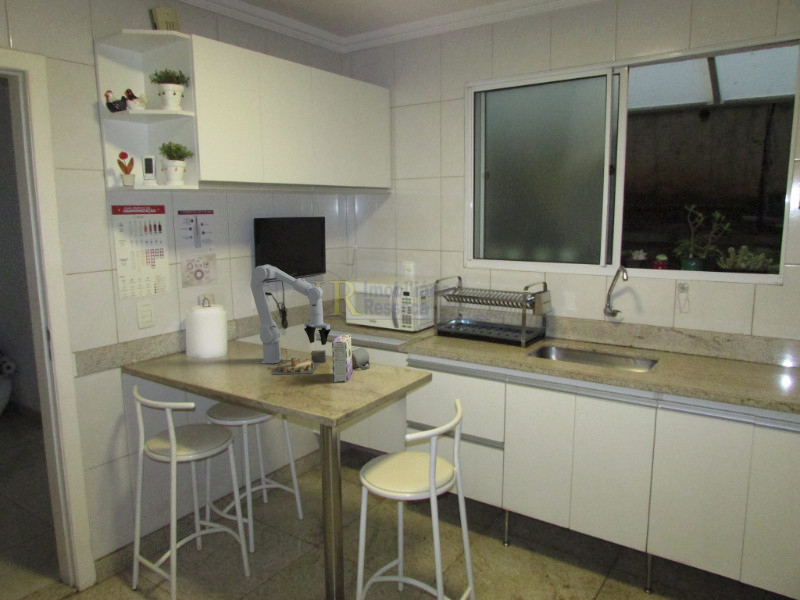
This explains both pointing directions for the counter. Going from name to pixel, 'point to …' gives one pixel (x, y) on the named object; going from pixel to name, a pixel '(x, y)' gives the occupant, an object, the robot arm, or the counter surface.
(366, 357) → the ceramic mug
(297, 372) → the index plate
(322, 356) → the banded gift box
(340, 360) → the candy box
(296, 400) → the counter surface
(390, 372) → the counter surface
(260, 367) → the counter surface
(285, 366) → the sprocket
